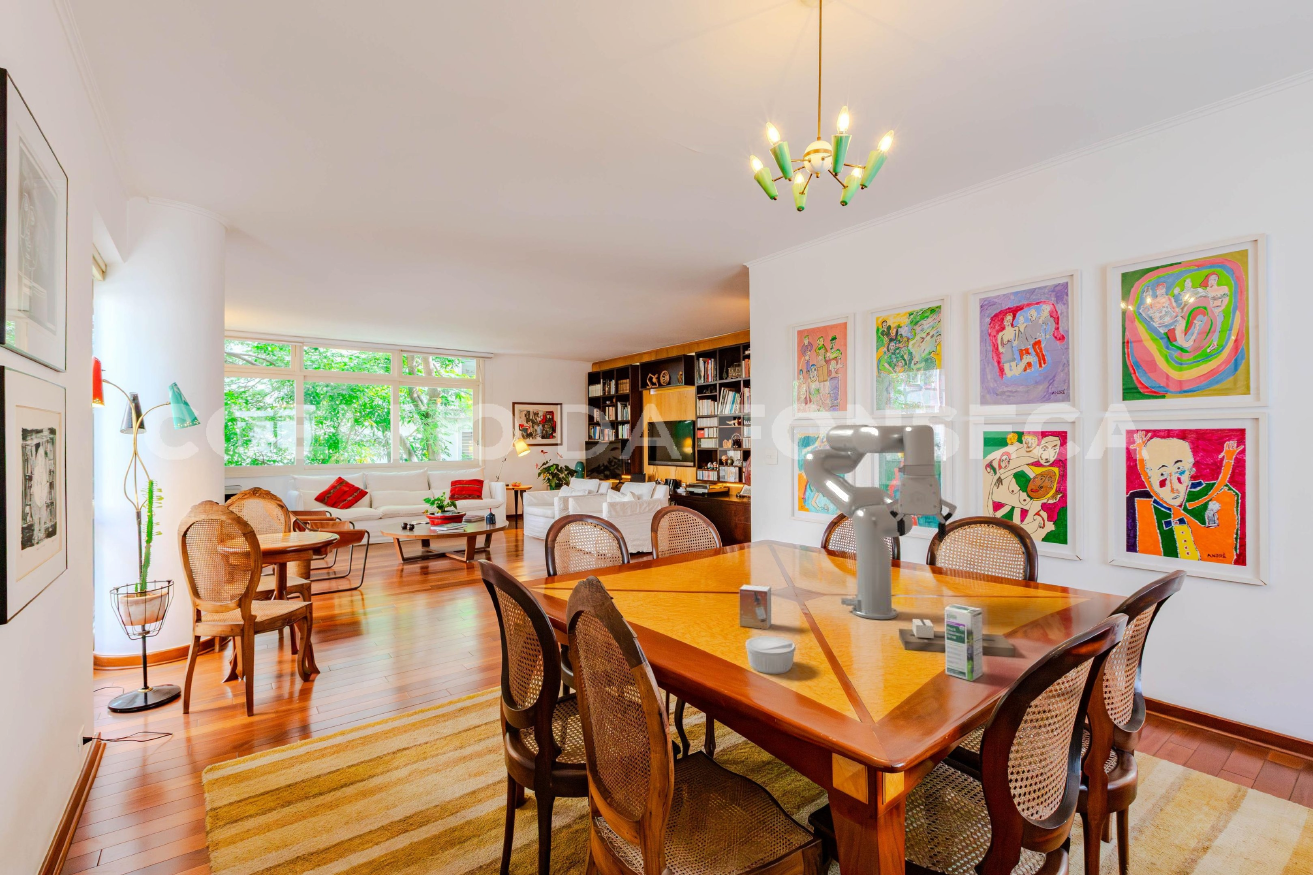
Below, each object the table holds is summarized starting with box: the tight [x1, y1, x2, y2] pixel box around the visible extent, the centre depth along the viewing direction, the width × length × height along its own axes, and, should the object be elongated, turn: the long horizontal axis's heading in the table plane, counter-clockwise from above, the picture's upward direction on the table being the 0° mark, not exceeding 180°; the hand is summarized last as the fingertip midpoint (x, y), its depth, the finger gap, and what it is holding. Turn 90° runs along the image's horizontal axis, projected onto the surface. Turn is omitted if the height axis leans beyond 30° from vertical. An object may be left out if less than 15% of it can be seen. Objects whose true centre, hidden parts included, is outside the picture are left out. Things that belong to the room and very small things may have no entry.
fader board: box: [898, 628, 1016, 658], centre depth 148 cm, size 24×10×2 cm, turn 76°
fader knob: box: [912, 618, 935, 638], centre depth 149 cm, size 4×5×3 cm
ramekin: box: [745, 635, 796, 675], centre depth 136 cm, size 11×11×5 cm
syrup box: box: [944, 603, 984, 682], centre depth 130 cm, size 6×6×14 cm
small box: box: [738, 584, 772, 630], centre depth 167 cm, size 8×6×10 cm
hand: (921, 536), depth 158 cm, fingers open, 9 cm apart
